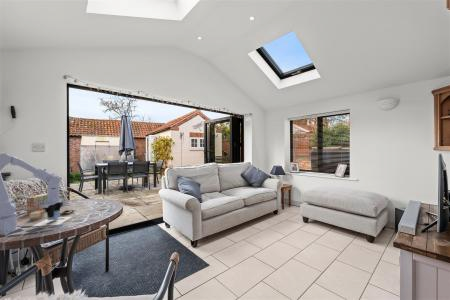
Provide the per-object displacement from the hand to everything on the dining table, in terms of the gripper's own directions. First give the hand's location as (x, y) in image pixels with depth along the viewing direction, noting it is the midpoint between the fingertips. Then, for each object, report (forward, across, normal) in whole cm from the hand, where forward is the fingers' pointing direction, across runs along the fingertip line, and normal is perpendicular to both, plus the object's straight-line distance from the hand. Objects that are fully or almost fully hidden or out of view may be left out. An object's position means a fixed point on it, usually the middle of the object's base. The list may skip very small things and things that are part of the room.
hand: (53, 215), depth 121 cm
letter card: (+4, 0, 0) cm, 4 cm away
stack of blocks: (+4, +29, +23) cm, 37 cm away
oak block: (+4, +7, +14) cm, 16 cm away
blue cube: (+2, 0, 0) cm, 2 cm away
